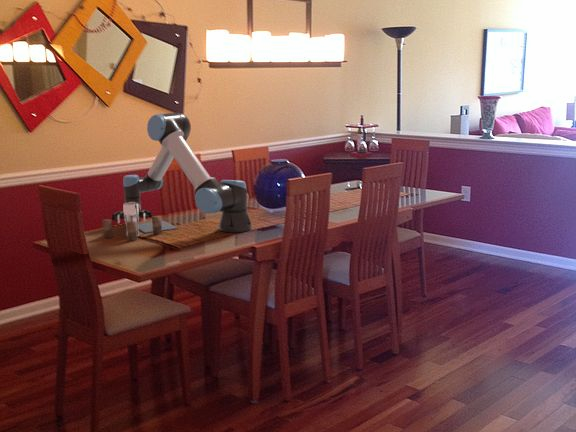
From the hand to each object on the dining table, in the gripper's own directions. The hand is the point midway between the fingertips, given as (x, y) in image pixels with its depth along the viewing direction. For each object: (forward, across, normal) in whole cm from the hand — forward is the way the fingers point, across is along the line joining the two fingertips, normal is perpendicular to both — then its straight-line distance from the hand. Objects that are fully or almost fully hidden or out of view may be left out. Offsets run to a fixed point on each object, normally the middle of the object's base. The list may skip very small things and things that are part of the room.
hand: (131, 219), depth 316 cm
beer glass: (-4, 0, -8) cm, 9 cm away
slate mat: (-19, -10, -8) cm, 23 cm away
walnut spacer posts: (-2, -1, -8) cm, 8 cm away
